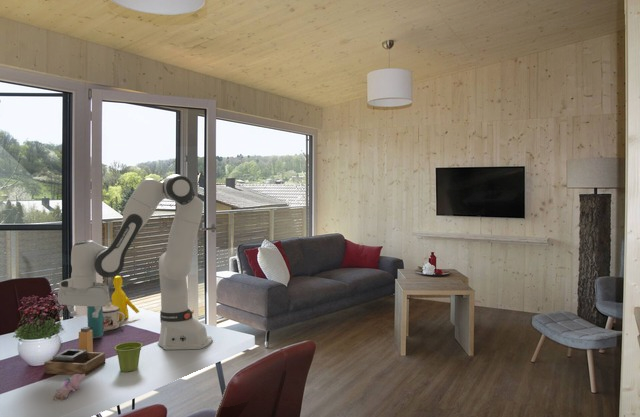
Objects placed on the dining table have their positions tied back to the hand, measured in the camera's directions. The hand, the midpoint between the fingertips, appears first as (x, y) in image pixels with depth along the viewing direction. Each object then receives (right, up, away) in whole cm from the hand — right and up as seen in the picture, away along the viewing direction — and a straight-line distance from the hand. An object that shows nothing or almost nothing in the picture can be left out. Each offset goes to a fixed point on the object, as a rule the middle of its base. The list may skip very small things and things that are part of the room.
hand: (84, 316), depth 189 cm
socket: (+1, -16, -11) cm, 20 cm away
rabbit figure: (+11, -18, -31) cm, 38 cm away
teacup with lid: (-5, -14, +38) cm, 41 cm away
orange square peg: (0, -16, +1) cm, 16 cm away
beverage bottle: (-6, -15, +22) cm, 27 cm away
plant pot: (+23, -17, -12) cm, 31 cm away
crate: (+3, -16, -11) cm, 20 cm away
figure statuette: (-7, -13, +53) cm, 55 cm away
